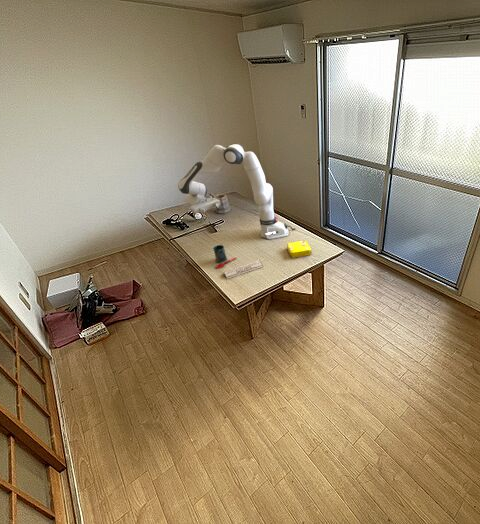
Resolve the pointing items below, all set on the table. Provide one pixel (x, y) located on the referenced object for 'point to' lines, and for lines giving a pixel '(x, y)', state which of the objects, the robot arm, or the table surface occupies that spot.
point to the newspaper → (242, 269)
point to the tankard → (224, 204)
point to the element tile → (298, 249)
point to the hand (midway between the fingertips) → (211, 208)
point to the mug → (220, 253)
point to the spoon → (223, 263)
